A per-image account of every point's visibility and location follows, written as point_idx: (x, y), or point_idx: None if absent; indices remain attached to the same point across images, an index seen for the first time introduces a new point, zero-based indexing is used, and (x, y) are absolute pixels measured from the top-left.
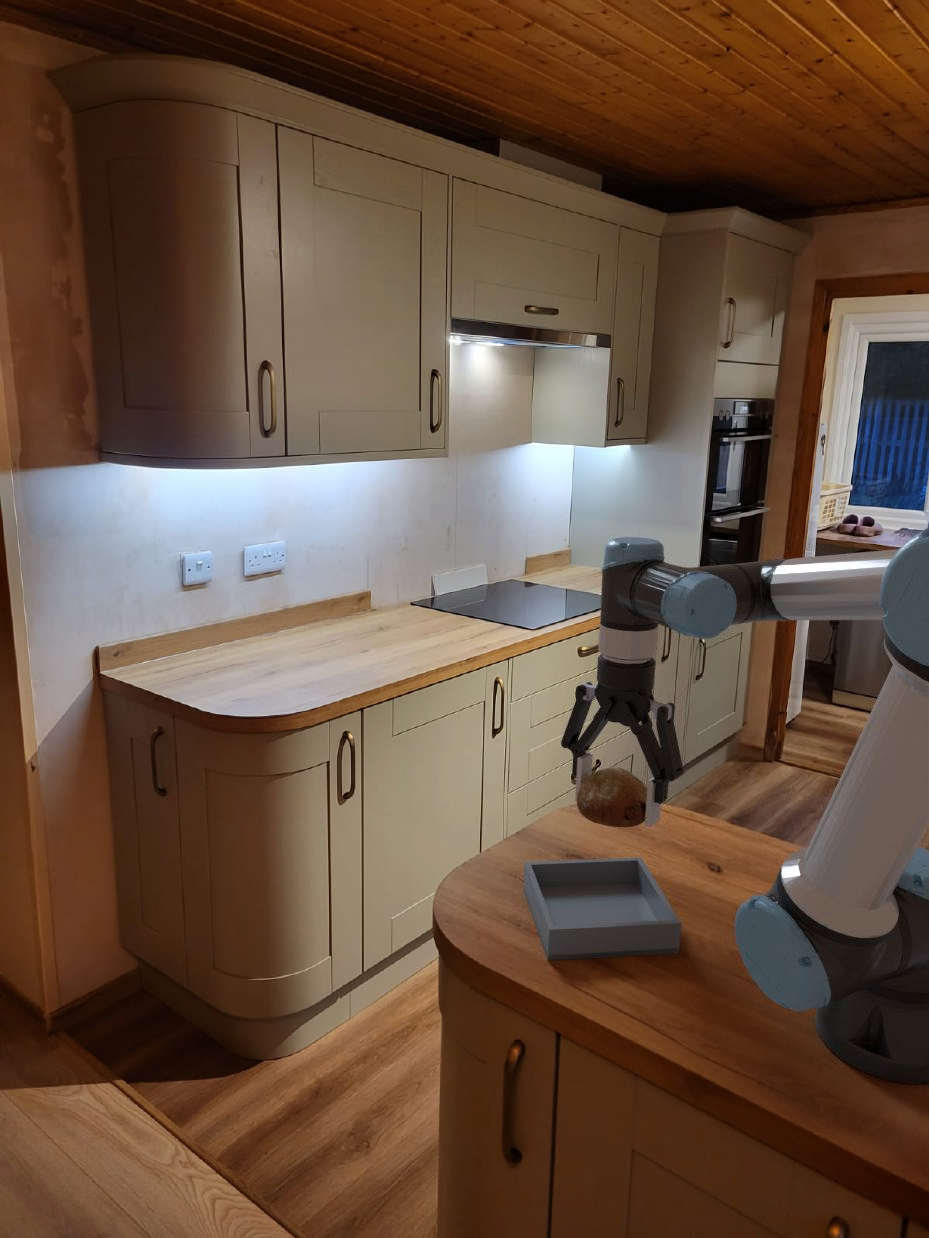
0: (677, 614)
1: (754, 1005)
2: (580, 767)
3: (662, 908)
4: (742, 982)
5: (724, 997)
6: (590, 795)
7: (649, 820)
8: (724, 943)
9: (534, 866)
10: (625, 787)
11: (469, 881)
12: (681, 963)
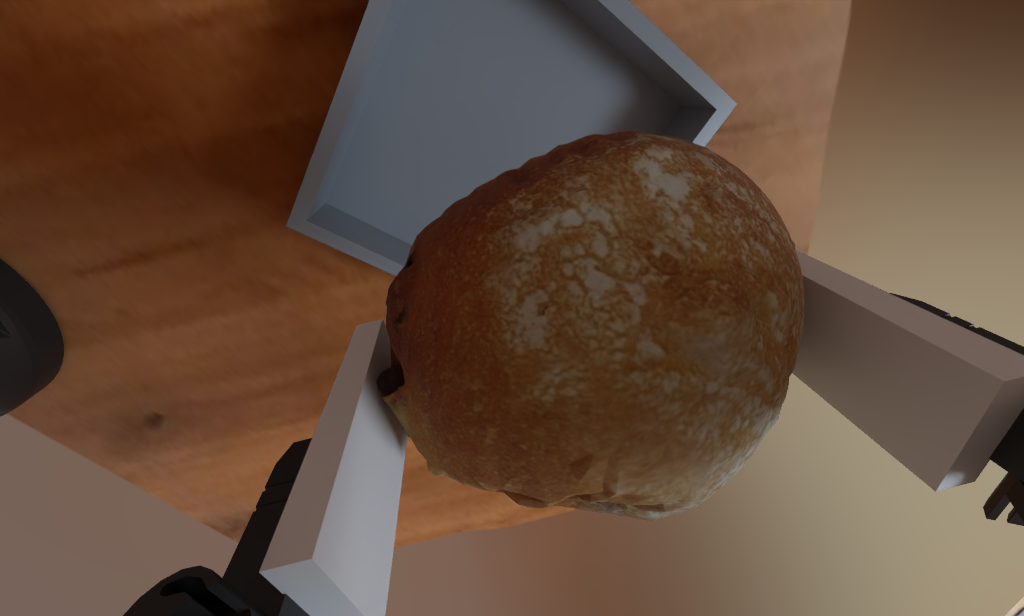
0: None
1: (78, 191)
2: (922, 329)
3: (386, 251)
4: (168, 233)
5: (125, 160)
6: (664, 178)
7: (354, 342)
8: (304, 301)
9: (706, 118)
10: (493, 391)
11: (814, 8)
12: (278, 181)
